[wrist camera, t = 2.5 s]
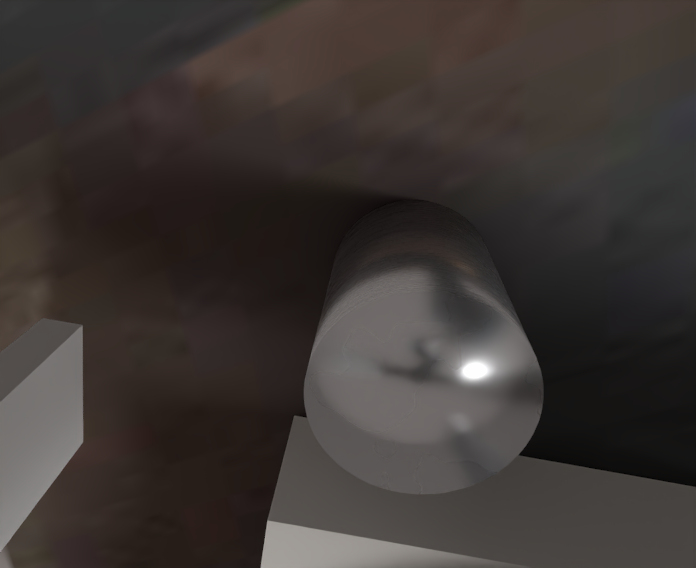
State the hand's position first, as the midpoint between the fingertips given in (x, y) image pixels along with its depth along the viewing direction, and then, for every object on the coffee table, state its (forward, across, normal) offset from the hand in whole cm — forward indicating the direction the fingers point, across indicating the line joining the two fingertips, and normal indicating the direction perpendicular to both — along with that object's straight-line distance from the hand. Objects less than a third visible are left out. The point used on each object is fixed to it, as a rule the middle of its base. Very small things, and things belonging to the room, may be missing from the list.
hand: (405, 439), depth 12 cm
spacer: (+8, 0, 0) cm, 8 cm away
